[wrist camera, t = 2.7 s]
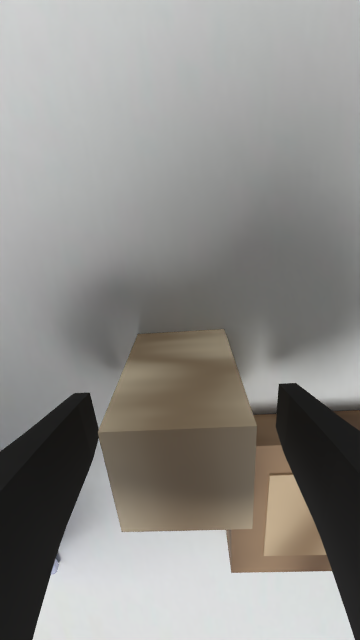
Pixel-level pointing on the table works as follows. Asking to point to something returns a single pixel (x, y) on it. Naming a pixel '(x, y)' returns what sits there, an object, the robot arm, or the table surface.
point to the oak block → (180, 436)
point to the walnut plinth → (278, 513)
